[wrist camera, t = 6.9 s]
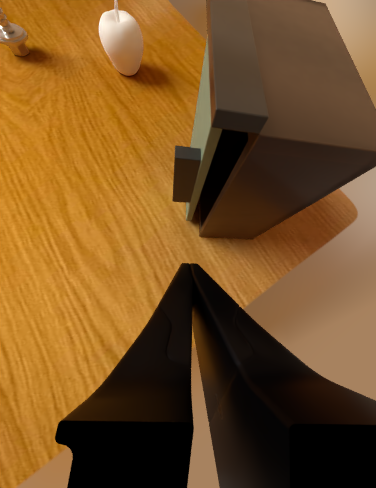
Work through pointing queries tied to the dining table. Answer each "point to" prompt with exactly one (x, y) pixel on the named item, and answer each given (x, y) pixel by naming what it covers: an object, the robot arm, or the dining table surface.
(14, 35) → the screw
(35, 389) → the dining table surface
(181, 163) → the sliding door
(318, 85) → the cupboard
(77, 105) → the dining table surface
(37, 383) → the dining table surface
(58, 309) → the dining table surface
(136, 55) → the apple
